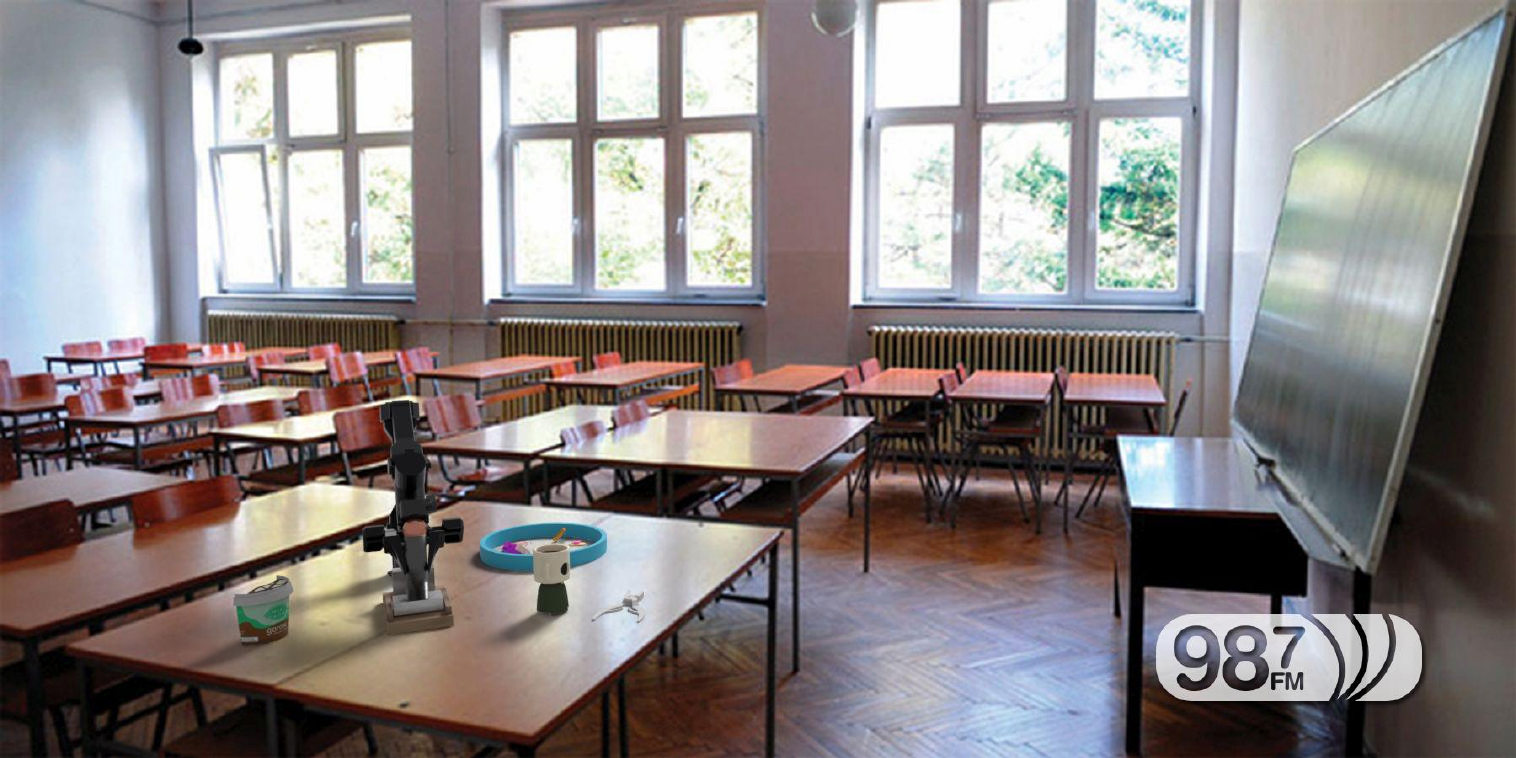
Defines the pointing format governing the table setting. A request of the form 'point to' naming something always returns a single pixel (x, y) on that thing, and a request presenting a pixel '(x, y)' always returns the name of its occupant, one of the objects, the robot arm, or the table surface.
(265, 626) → the food container
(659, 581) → the table surface
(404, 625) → the board
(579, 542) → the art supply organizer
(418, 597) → the handle
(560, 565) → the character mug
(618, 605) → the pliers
